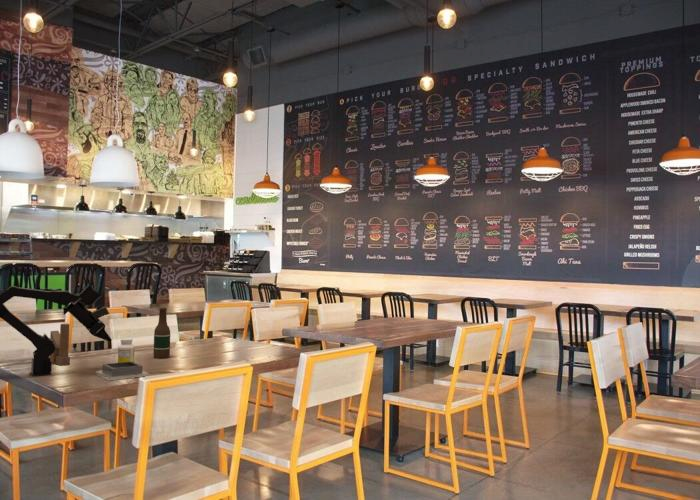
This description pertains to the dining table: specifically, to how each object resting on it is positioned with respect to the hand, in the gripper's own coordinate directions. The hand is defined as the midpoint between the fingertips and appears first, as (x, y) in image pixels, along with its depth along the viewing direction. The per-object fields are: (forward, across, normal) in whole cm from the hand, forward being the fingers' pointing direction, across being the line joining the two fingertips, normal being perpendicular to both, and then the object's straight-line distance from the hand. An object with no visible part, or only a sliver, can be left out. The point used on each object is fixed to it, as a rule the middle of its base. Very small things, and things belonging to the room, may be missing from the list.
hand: (109, 339), depth 252 cm
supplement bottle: (+14, 0, +4) cm, 15 cm away
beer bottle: (+28, +24, -10) cm, 38 cm away
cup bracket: (+12, -14, +7) cm, 19 cm away
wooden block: (-3, +22, +22) cm, 31 cm away
